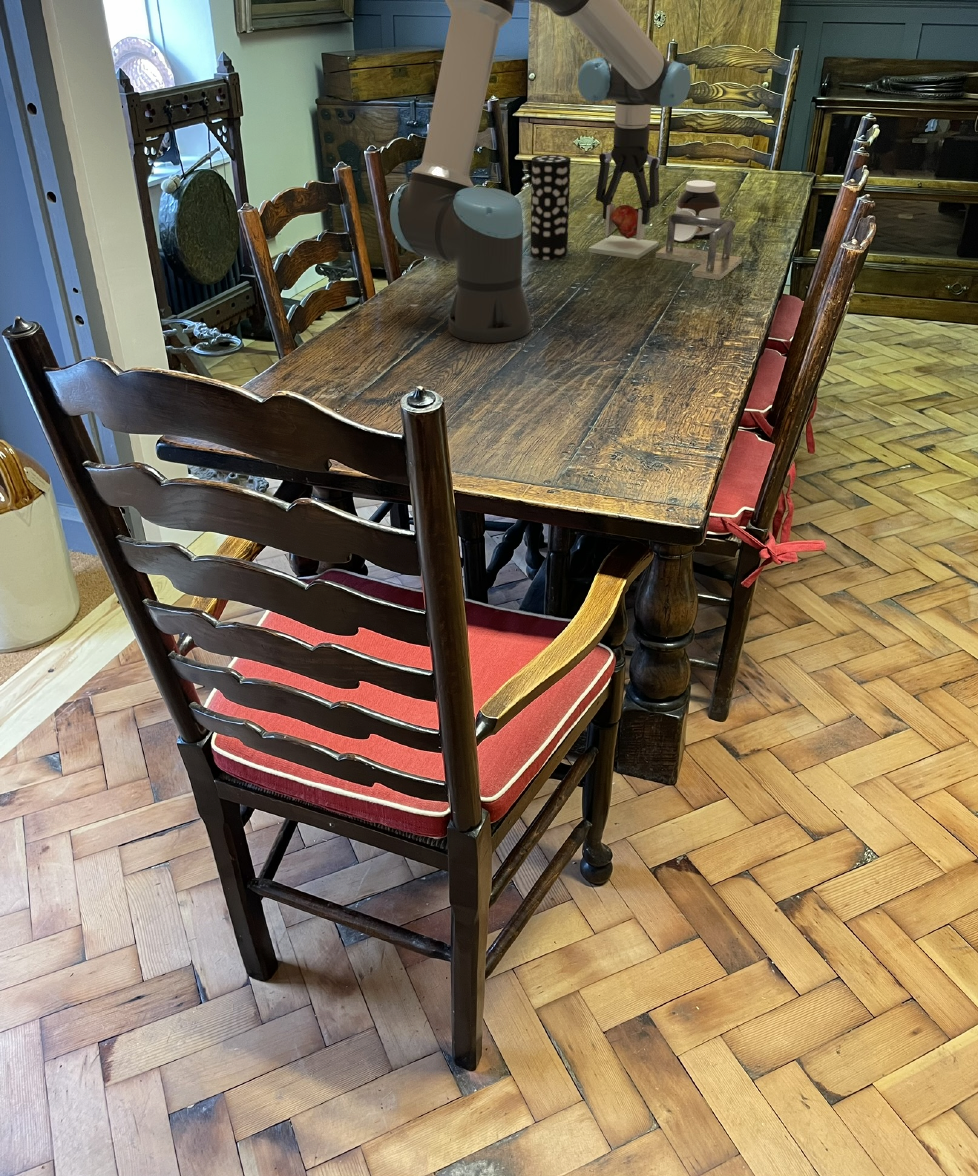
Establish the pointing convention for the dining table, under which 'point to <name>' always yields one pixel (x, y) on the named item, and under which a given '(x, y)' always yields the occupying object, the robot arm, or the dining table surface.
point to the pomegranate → (625, 220)
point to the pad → (623, 247)
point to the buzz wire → (710, 260)
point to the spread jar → (697, 209)
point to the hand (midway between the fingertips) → (624, 236)
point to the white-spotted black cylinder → (550, 206)
